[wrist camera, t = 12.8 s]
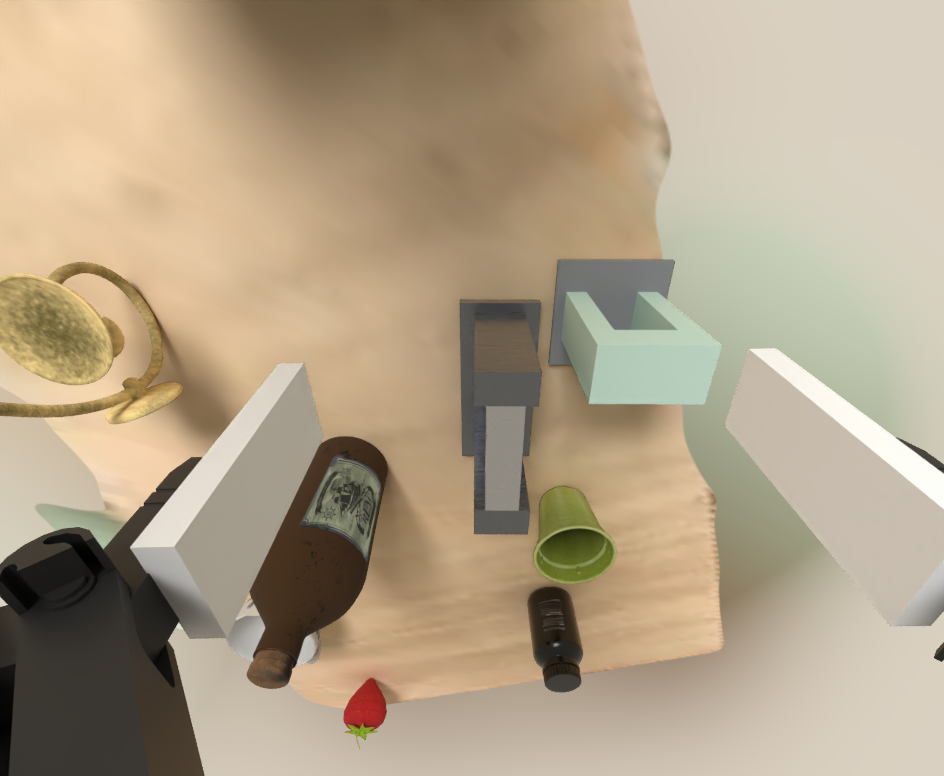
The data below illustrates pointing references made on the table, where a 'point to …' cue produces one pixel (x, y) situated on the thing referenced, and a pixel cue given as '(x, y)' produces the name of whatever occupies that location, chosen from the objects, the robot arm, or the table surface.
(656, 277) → the gray rectangular panel
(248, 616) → the teacup
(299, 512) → the olive oil
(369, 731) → the strawberry
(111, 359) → the wall sconce
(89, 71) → the table surface
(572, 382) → the table surface
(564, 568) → the plant pot
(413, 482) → the table surface
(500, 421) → the stand
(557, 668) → the supplement bottle
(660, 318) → the mint green u-shaped block
